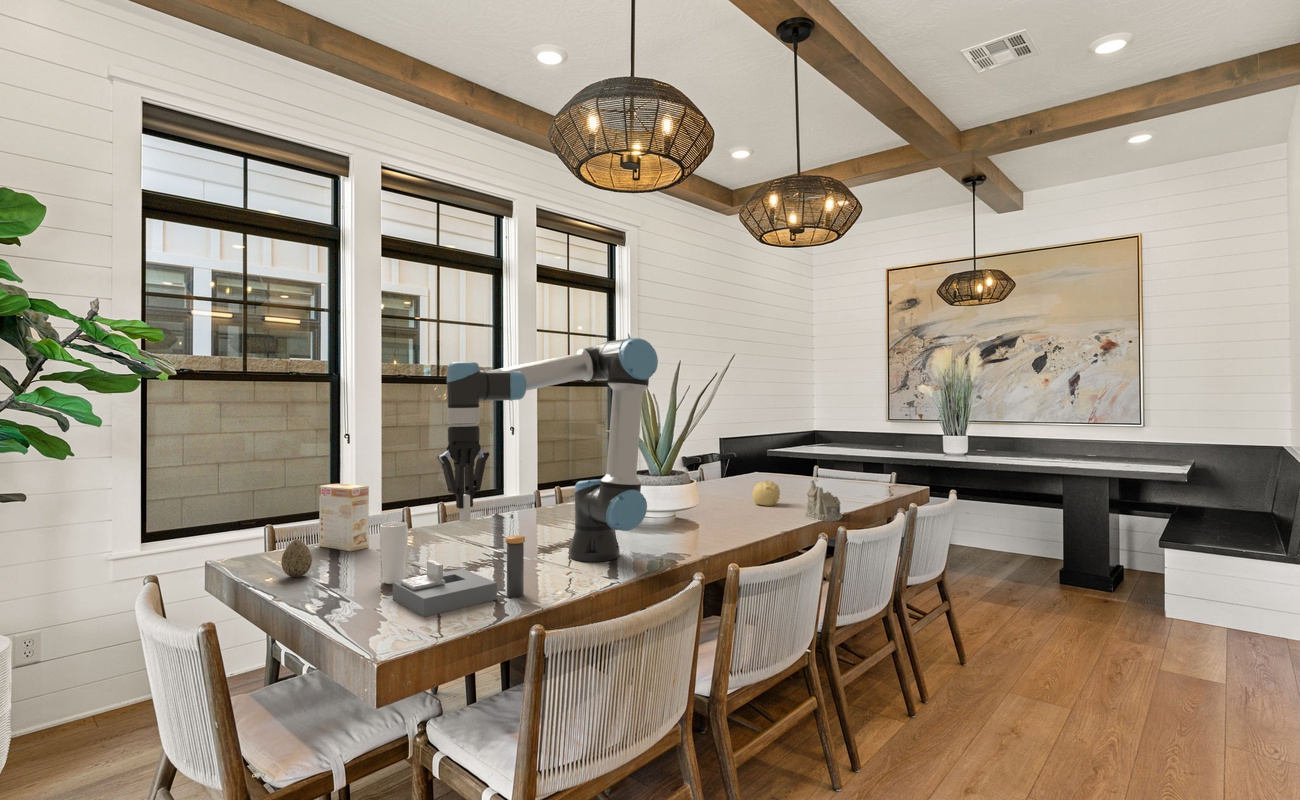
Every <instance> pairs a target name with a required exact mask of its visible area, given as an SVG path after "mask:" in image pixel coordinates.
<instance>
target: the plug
mask: <svg viewBox="0 0 1300 800" xmlns="http://www.w3.org/2000/svg"><path fill="white" fill-rule="evenodd" d="M525 542H526V537H525V536H524V535H520V534H519V535H510V536H506V537H505V543H506V597H507V598H510V599H511V598H513V599H515V598H520V597H523V596H524V594H525V593H524V591H525V590H524V585H525V583H524V581H525V580H524V576H525V575H524V572H525V571H524V567H525V566H524V565H525V564H524V561H525V560H524V558H525V557H524V556H525V555H524V551H525V550H524V548H525V547H524V543H525Z"/></svg>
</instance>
